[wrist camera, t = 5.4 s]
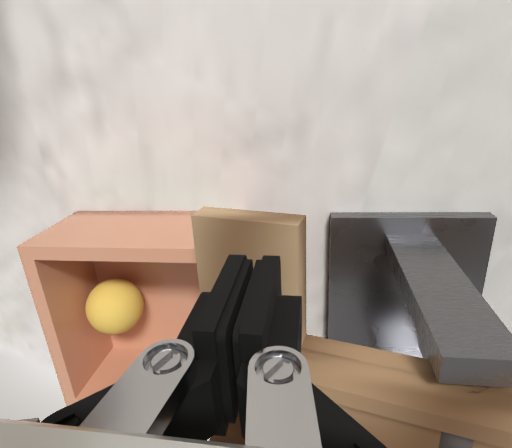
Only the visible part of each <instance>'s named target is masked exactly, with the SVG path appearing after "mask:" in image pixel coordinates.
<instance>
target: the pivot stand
mask: <svg viewBox="0 0 512 448" xmlns="http://www.w3.org/2000/svg"><path fill="white" fill-rule="evenodd" d="M496 221H497V218H496V217H495V216H494V215H493V214H491V213H490V212H461V213H331V214H330V256H329V298H328V339H331V340H336V341H341V342H346V343H351V344H356V345H361V346H366V347H371V348H376V349H381V350H386V351H391V352H395V353H400V354H405V355H410V356H415V357H420V358H425V359H429V361H430V364H431V366H432V369H433V371H434V373H435V376H436V378H437V381H438V383H442V384H458V385H475V386H491V387H507V388H512V334H511V333H510V332H509V330H508V329H507V328H506V327H505V325H504V324H503V323H502V321H501V320H500V319H499V317H498V316H497V315H496V314H495V312H494V311H493V310H492V308H491V307H490V306H489V304H488V303H487V302H486V301H485V299H484V298H483V297H482V292H483V287H484V282H485V277H486V272H487V267H488V262H489V256H490V251H491V246H492V241H493V236H494V231H495V226H496Z"/></svg>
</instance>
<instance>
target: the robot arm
mask: <svg viewBox="0 0 512 448" xmlns="http://www.w3.org/2000/svg"><path fill="white" fill-rule="evenodd" d="M301 343H302V296H290V295H282V290H281V260H280V256H269V255H263V257H262V260H256V262H255V265H254V268H253V261H252V259H247V256H246V255H231V254H229V256H228V257H227V259H226V262H225V264H224V266H223V268H222V270H221V272H220V274H219V276H218V278H217V280H216V282H215V284H214V286H213V288H212V290H211V292H202V293H201V294H200V295H199V297H198V299H197V301H196V303H195V305H194V307H193V309H192V310H191V312H190V314H189V316H188V318H187V320H186V322H185V324H184V325H183V327H182V329H181V331H180V333H179V335H178V337H177V339H166V340H162V341H159V342H156V343H154V344H152V345H150V346H148V347H147V348H146V349H145V350H144V351H142V352H141V353H140V355H139V356H138V357H137V358H136V359H135V361H134V362H133V363H132V364H131V365H130V366H129V368H128V369H127V370H126V371H125V372H124V374H123V375H122V376H121V377H120V378H119V379H118V381H117V382H116V383H115V384H112V385H110V386H108V387H106V388H104V389H102V390H100V391H98V392H96V393H94V394H92V395H90V396H88V397H85V398H83V399H81V400H79V401H77V402H75V403H73V404H71V405H69V406H67V407H65V408H63V409H61V410H59V411H56V412H55V413H53V414H52V415H50V416H48V417H47V418H45V419H44V420H43V421H42V422H41V423H40V421H39V418H34V419H24V420H9V419H0V448H387V447H386V446H385V445H384V444H383V443H381V442H380V441H379V440H378V439H377V438H376V437H374V436H373V435H372V434H371V433H370V432H369V431H367V430H366V429H365V428H364V427H363V426H362V425H360V424H359V423H358V422H357V421H356V420H355V419H353V418H352V417H351V416H350V415H349V414H348V413H346V412H345V411H344V410H343V409H342V408H341V407H339V406H338V405H337V404H336V403H335V402H334V401H332V400H331V399H330V398H329V397H328V396H327V395H325V394H324V393H323V392H322V391H321V390H320V389H318V388H317V387H316V386H315V385H314V384H313V383H311V378H310V372H309V366H308V363H307V360H306V358H305V357H304V356H303V355H302V354H301ZM238 411H239V418H240V425H241V436H242V437H243V438H244V440H245V445H240V444H232V443H223V442H214V441H207V439H209V438H211V437H212V436H214V435H216V436H225V437H226V433H227V430H228V426H229V423H231V424H235V423H236V420H237V416H238Z"/></svg>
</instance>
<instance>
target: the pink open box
mask: <svg viewBox="0 0 512 448" xmlns="http://www.w3.org/2000/svg"><path fill="white" fill-rule="evenodd" d="M195 212H197V211H77V212H75V213H74V214H72V215H70V216H68V217H67V218H65V219H63V220H62V221H60V222H58V223H56V224H55V225H53V226H51V227H50V228H48V229H46V230H44V231H43V232H41V233H39V234H38V235H36V236H34V237H32V238H31V239H29V240H27V241H26V242H24V243H22V244H20V245H19V246H17V249H18V252H19V255H20V259H21V262H22V265H23V268H24V271H25V275H26V278H27V281H28V284H29V287H30V291H31V294H32V297H33V300H34V303H35V307H36V310H37V313H38V316H39V319H40V323H41V326H42V329H43V332H44V335H45V339H46V342H47V345H48V348H49V351H50V355H51V358H52V361H53V364H54V367H55V371H56V374H57V377H58V380H59V383H60V387H61V390H62V393H63V396H64V399H65V403H66V406H69V405H71V404H73V403H75V402H77V401H79V400H81V399H83V398H85V397H88V396H90V395H92V394H94V393H96V392H98V391H100V390H102V389H104V388H106V387H108V386H110V385H112V384H115V383H116V382H117V381H118V379H119V378H120V377H121V376H122V375H123V374H124V372H125V371H126V370H127V369H128V368H129V366H130V365H131V364H132V363H133V362H134V361H135V359H136V358H137V357H138V356H139V355H140V353H141V352H142V351H144V350H145V349H146V348H147V347H148V346H150V345H152V344H154V343H156V342H159V341H162V340H166V339H177V337H178V335H179V333H180V331H181V329H182V327H183V325H184V324H185V322H186V320H187V318H188V316H189V314H190V312H191V310H192V309H193V307H194V305H195V303H196V301H197V299H198V297H199V295H200V288H199V280H198V271H197V263H196V255H195V247H194V238H193V230H192V222H191V215H192V214H194V213H195ZM115 278H118V279H125V280H128V281H130V282H132V283H133V284H134V285H136V286H137V287H138V289H139V290H140V291H141V293H142V296H143V300H144V309H143V313H142V316H141V318H140V319H139V321H138V322H137V324H136V325H135V326H134V327H132V328H131V329H130V330H128V331H126V332H124V333H121V334H114V335H111V334H104V333H102V332H99V331H98V330H96V329H95V328H94V327H93V326H92V325H91V324H90V323H89V321H88V319H87V316H86V311H85V307H86V301H87V298H88V296H89V294H90V293H91V291H92V290H93V289H94V288H95V287H96V286H97V285H98V284H100V283H101V282H103V281H106V280H109V279H115Z"/></svg>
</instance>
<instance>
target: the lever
mask: <svg viewBox="0 0 512 448" xmlns="http://www.w3.org/2000/svg"><path fill="white" fill-rule="evenodd" d="M191 222H192V230H193V238H194V247H195V255H196V263H197V271H198V280H199V288H200V294H201V293H202V292H211V290H212V288H213V286H214V284H215V282H216V280H217V278H218V276H219V274H220V272H221V270H222V268H223V266H224V264H225V262H226V259H227V257H228V256H229V254H231V255H246V256H247V259H252V261H253V268H254V265H255V262H256V260H262V257H263V255H269V256H280V260H281V290H282V295H290V296H302V343H301V354H302V355H303V356H304V357H305V358H306V360H307V363H308V366H309V372H310V378H311V383H313V384H314V385H315V386H316V387H317V388H318V389H320V390H321V391H322V392H323V393H324V394H325V395H327V396H328V397H329V398H330V399H331V400H332V401H334V402H335V403H336V404H337V405H338V406H339V407H341V408H342V409H343V410H344V411H345V412H346V413H348V414H349V415H350V416H351V417H352V418H353V419H355V420H356V421H357V422H358V423H359V424H360V425H362V426H363V427H364V428H365V429H366V430H367V431H369V432H370V433H371V434H372V435H373V436H374V437H376V438H377V439H378V440H379V441H380V442H381V443H383V444H384V445H385V446H386V447H387V448H512V388H507V387H491V386H475V385H458V384H442V383H438V381H437V378H436V376H435V373H434V371H433V369H432V366H431V364H430V361H429V359H425V358H420V357H415V356H410V355H405V354H400V353H395V352H391V351H386V350H381V349H376V348H371V347H366V346H361V345H356V344H351V343H346V342H341V341H336V340H331V339H326V338H321V337H317V336H312V335H307V334H306V215H296V214H285V213H273V212H261V211H249V210H237V209H226V208H214V207H203V208H201V209H200V210H198V211H197V212H195V213H194V214H192V215H191ZM210 441H214V442H223V443H232V444H240V445H245V440H244V438H243V437H242V436H241V425H240V418H239V411H238V416H237V420H236V423H235V424H231V423H229V426H228V430H227V433H226V437H225V436H216V435H214V436H212V437H211V438H210Z"/></svg>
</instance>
